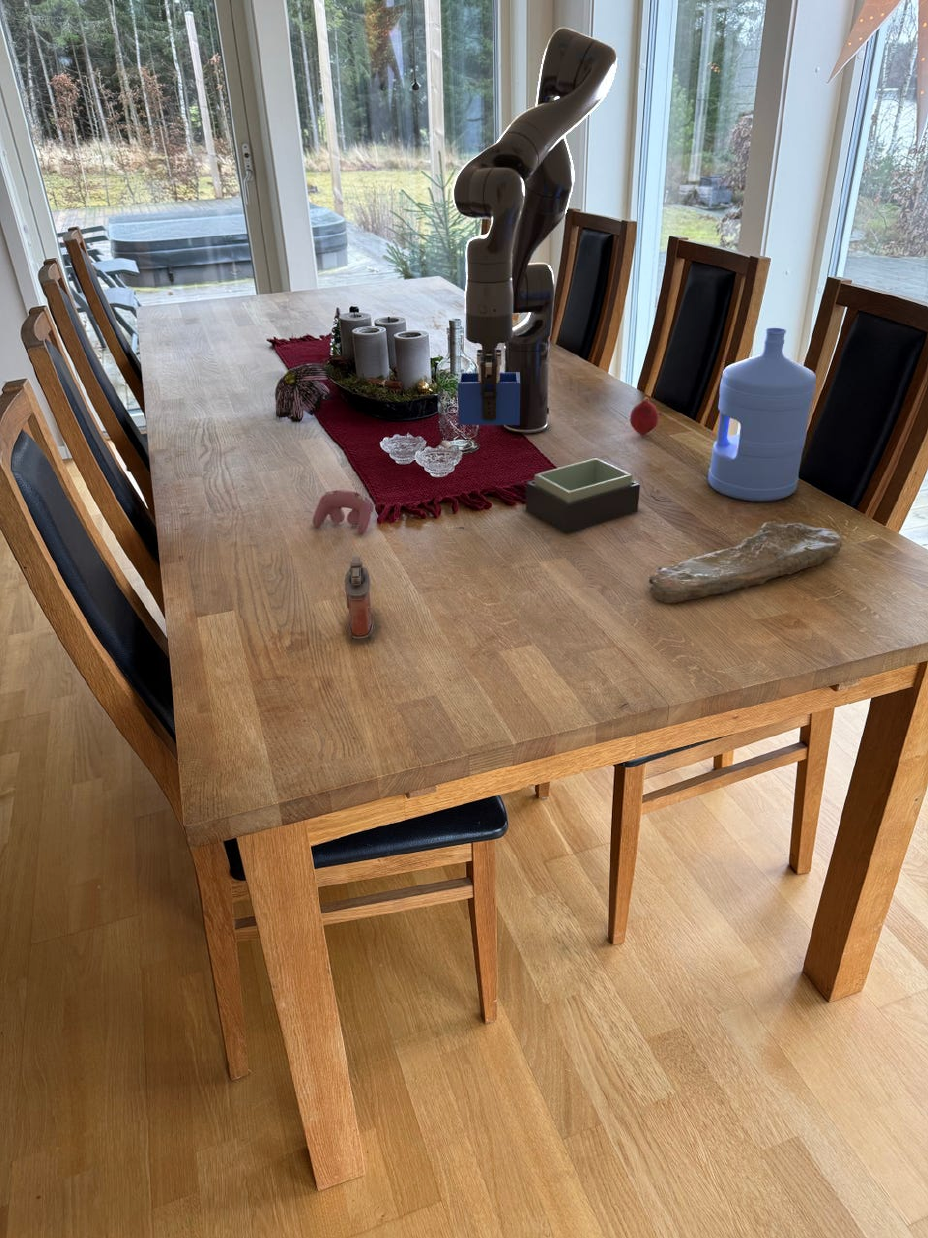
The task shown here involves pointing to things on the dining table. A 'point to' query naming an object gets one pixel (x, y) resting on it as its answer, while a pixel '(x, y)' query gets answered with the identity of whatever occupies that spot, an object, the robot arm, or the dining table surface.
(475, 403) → the blue bin
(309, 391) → the decorative flower
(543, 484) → the middle bin
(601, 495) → the outer bin
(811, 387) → the water jug
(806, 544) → the elongated rock
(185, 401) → the dining table surface
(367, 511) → the video game controller
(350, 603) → the lighter
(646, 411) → the onion
